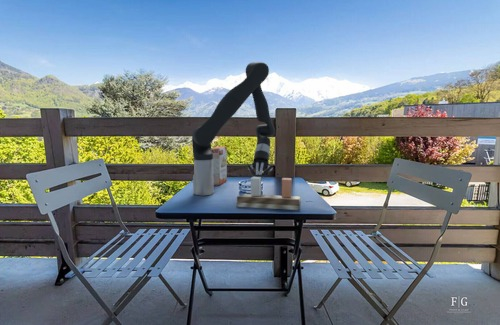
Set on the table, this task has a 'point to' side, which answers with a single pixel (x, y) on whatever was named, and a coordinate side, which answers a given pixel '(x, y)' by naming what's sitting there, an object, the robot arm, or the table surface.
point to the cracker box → (219, 165)
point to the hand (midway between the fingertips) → (257, 182)
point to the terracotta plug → (286, 187)
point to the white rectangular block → (255, 186)
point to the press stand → (269, 202)
